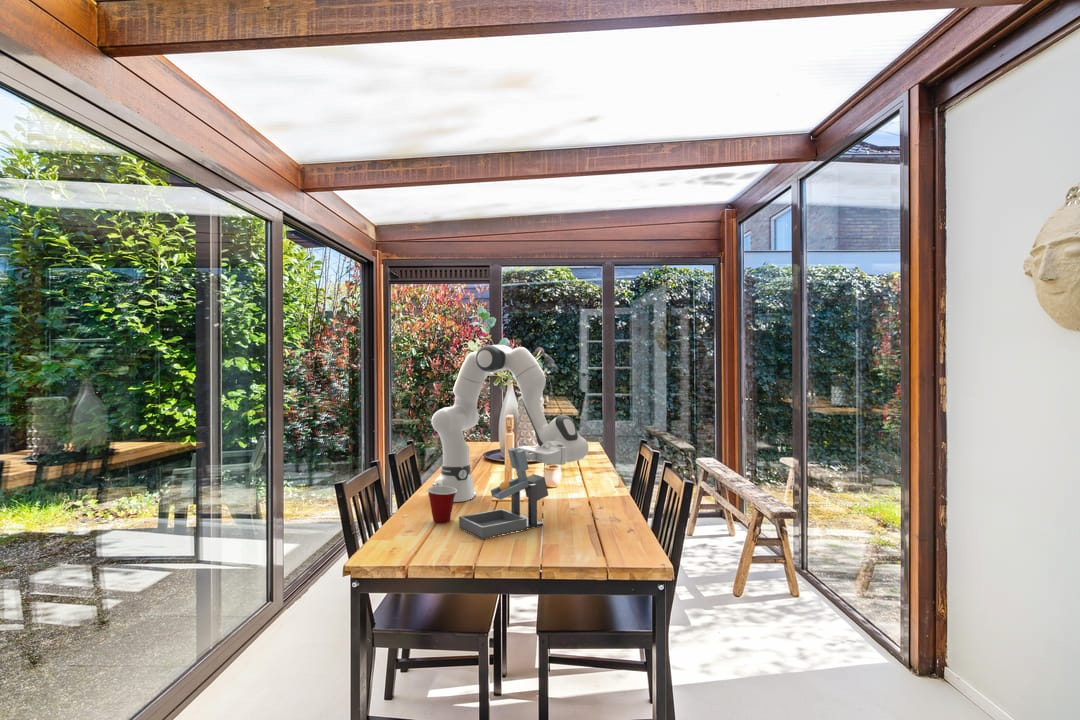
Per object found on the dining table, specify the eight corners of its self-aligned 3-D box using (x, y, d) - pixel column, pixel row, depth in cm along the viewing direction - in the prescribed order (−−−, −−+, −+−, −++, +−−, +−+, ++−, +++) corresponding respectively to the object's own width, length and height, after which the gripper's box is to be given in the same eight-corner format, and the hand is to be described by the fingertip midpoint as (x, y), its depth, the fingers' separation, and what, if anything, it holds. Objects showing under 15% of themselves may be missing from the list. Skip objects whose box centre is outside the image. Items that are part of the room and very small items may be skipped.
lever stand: (505, 520, 215) (505, 479, 215) (521, 517, 219) (521, 477, 219) (526, 529, 204) (526, 486, 204) (543, 525, 208) (543, 484, 208)
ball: (506, 479, 209) (506, 490, 209) (497, 481, 207) (497, 491, 207) (511, 481, 206) (511, 491, 206) (502, 483, 204) (503, 493, 204)
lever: (494, 511, 209) (481, 460, 206) (536, 491, 220) (525, 442, 217) (506, 517, 202) (494, 463, 199) (549, 495, 213) (538, 444, 210)
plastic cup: (451, 526, 207) (451, 492, 207) (422, 524, 210) (422, 491, 209) (461, 518, 218) (461, 485, 218) (433, 516, 220) (433, 484, 220)
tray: (459, 528, 206) (459, 516, 205) (502, 519, 216) (502, 508, 216) (482, 539, 192) (482, 527, 192) (526, 530, 203) (526, 518, 203)
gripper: (535, 440, 227) (504, 444, 219) (568, 447, 211) (536, 451, 202) (535, 457, 227) (505, 461, 219) (568, 465, 211) (536, 469, 203)
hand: (520, 456), depth 211 cm, fingers closed, pressing on lever
